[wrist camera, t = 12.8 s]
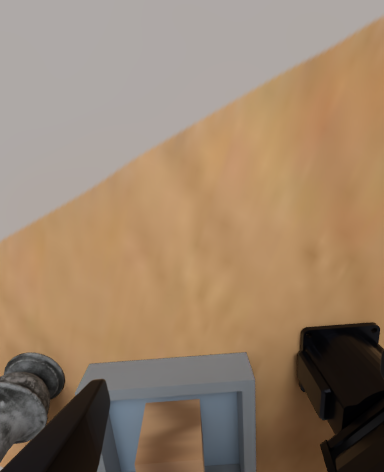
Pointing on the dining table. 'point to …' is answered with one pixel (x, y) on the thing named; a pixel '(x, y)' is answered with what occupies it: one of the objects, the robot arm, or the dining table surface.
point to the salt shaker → (26, 397)
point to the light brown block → (171, 438)
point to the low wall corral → (174, 389)
